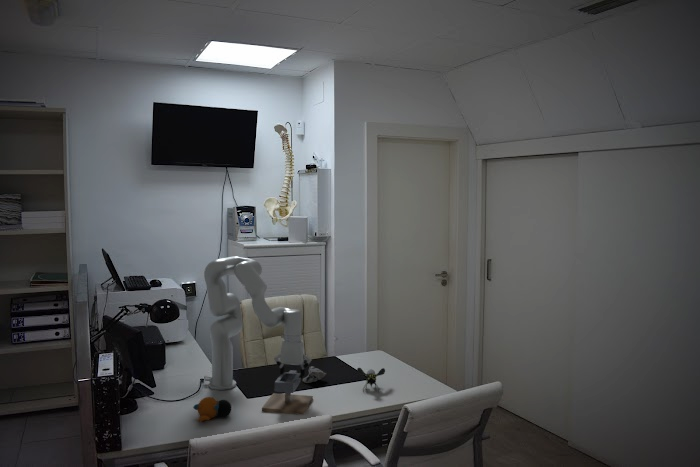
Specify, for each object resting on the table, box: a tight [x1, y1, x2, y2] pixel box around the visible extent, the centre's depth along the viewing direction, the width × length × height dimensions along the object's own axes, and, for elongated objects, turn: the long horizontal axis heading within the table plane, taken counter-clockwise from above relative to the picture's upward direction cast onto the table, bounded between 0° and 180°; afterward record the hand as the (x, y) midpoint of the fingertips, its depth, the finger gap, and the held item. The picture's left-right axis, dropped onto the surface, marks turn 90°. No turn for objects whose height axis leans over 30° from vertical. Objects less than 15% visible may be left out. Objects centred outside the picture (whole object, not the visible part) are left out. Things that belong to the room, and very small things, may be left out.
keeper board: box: [261, 392, 314, 415], centre depth 244 cm, size 18×17×8 cm
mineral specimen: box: [301, 366, 327, 384], centre depth 274 cm, size 10×8×10 cm
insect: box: [356, 367, 386, 393], centre depth 263 cm, size 13×16×10 cm
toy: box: [193, 396, 233, 423], centre depth 229 cm, size 12×10×15 cm
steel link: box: [273, 369, 302, 394], centre depth 244 cm, size 16×8×4 cm, turn 171°
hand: (292, 376), depth 251 cm, fingers closed on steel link, 8 cm apart
